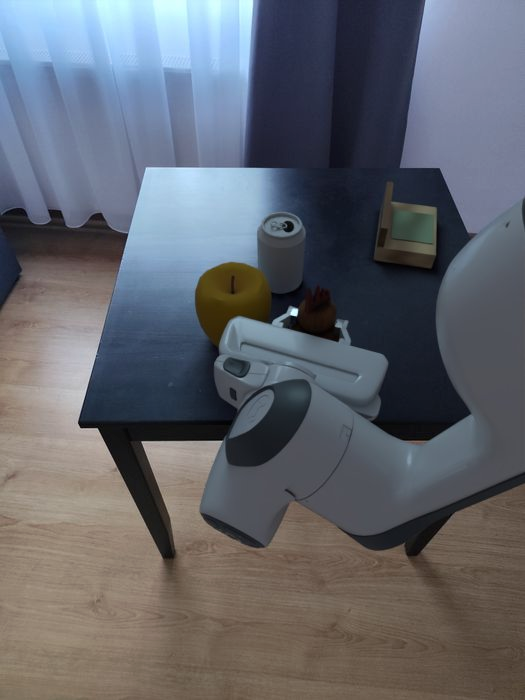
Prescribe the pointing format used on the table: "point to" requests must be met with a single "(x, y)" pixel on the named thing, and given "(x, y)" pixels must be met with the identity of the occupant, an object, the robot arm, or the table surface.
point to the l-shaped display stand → (406, 233)
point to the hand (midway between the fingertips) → (318, 316)
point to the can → (281, 251)
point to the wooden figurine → (317, 315)
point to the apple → (231, 297)
